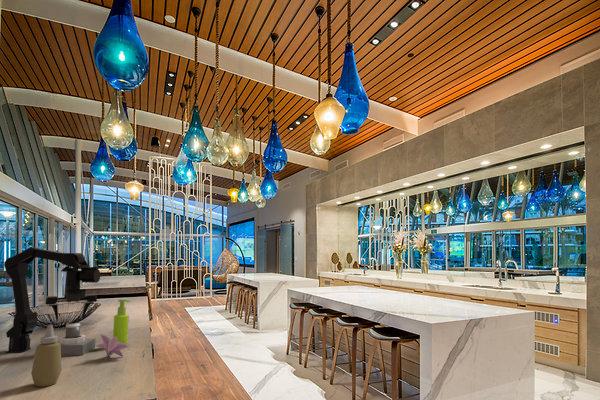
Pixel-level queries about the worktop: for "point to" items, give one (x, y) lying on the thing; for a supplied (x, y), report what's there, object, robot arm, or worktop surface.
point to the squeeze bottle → (47, 360)
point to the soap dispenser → (121, 323)
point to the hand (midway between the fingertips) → (69, 320)
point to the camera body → (76, 345)
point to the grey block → (72, 331)
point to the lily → (112, 345)
